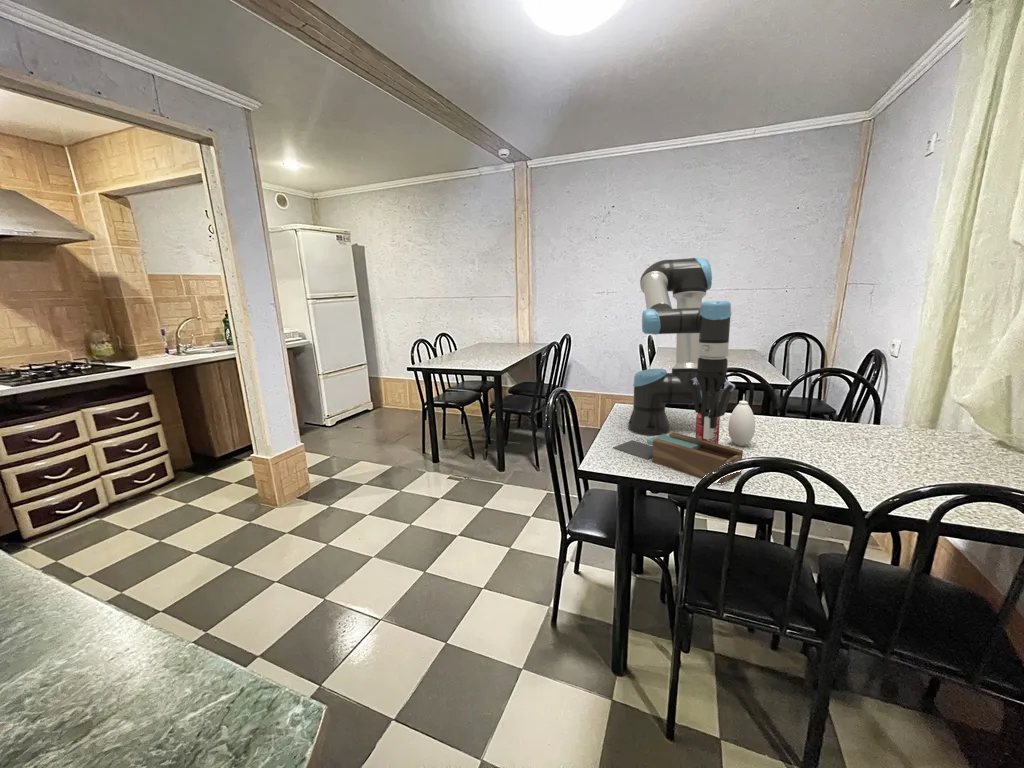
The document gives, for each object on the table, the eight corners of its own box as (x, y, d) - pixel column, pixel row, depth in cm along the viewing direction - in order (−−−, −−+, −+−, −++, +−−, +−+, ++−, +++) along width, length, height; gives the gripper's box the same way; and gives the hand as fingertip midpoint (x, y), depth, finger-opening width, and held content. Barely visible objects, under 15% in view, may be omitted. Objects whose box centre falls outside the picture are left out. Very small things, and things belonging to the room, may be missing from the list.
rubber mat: (632, 441, 150) (632, 440, 150) (666, 451, 139) (666, 450, 139) (613, 448, 144) (613, 447, 144) (647, 459, 133) (647, 458, 133)
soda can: (708, 453, 136) (710, 415, 133) (690, 447, 142) (691, 410, 139) (722, 449, 139) (725, 411, 136) (704, 443, 145) (706, 407, 142)
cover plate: (662, 437, 138) (663, 433, 138) (700, 447, 128) (700, 444, 128) (646, 443, 133) (646, 440, 133) (684, 455, 123) (684, 451, 123)
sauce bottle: (735, 439, 147) (738, 389, 144) (758, 445, 141) (762, 393, 137) (722, 444, 143) (726, 393, 139) (745, 450, 137) (749, 397, 133)
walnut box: (672, 453, 137) (673, 432, 136) (740, 474, 120) (742, 450, 119) (652, 462, 131) (652, 440, 130) (721, 485, 114) (723, 460, 112)
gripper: (683, 356, 119) (680, 435, 123) (729, 361, 108) (724, 446, 113) (697, 354, 123) (694, 430, 128) (743, 357, 113) (737, 440, 117)
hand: (708, 438), depth 120 cm, fingers closed
